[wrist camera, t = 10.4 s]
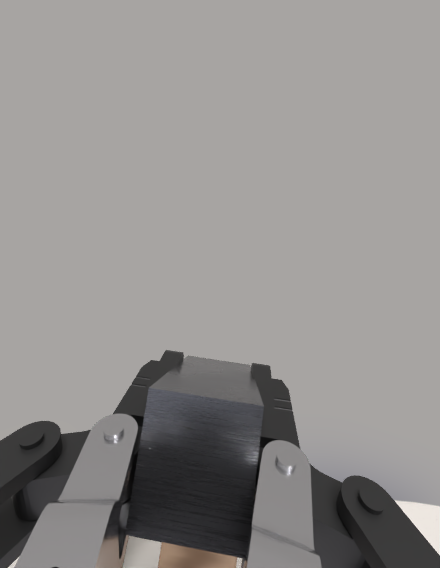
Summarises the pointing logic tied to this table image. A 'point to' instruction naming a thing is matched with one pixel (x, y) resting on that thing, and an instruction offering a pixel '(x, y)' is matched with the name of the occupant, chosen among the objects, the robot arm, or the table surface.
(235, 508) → the steel bar
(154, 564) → the table surface
